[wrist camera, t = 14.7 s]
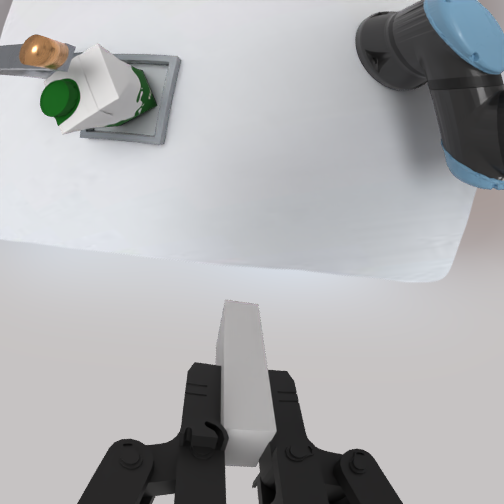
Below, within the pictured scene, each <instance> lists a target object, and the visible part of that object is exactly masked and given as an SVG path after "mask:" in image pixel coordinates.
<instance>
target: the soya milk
mask: <svg viewBox="0 0 504 504" xmlns="http://www.w3.org/2000/svg"><path fill="white" fill-rule="evenodd" d="M44 84H45V89H44V90H43V92H42V95H41V99H40V106H41V110H42V112H43V113H44V114H45V115H47V116H50V117H54V118H55V119H56V121H57V124H58V126H59V127H60V129H61V132H62V134H67V133H71V132H75V131H79V130H84V129H89V128H98V127H110V126H120V125H122V124H123V123H125V122H127V121H129V120H131V119H133V118H135V117H137V116H139V115H140V114H142V113H144V112H146V111H148V110H150V109H152V108H153V107H155V106H157V104H156V102H155V99H154V97H153V95H152V92H151V90H150V87H149V85H148V83H147V80H146V78H145V75H144V73H143V71H142V70H139V69H136V68H135V67H133V66H131V65H129V64H127V63H125V62H123V61H121V60H119V59H118V58H117V57H115V56H114V55H113V54H111V53H110V52H109V51H107V50H106V49H105V48H103V47H102V46H101V45H100V44H98V43H97V44H96V45H94V46H92V47H91V48H89V49H88V50H86V51H85V52H83V53H82V54H80V55H77V56H76V57H74V58H73V59H72V60H71V62H70V65H69V69H68V72H62V71H56V72H55V73H53V74H52V75H51V76H50V77H48V78H47V79H46V80H45V81H44Z"/></svg>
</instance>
